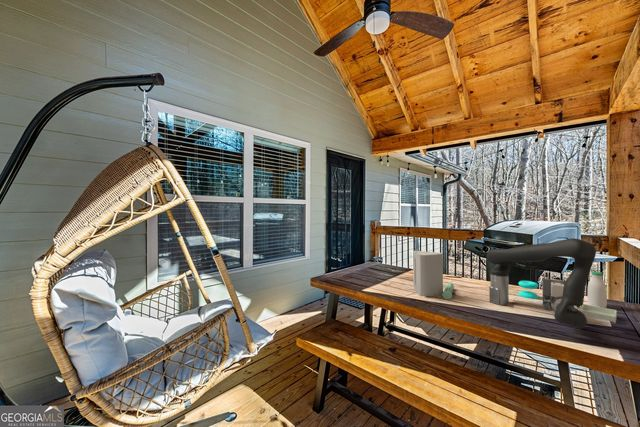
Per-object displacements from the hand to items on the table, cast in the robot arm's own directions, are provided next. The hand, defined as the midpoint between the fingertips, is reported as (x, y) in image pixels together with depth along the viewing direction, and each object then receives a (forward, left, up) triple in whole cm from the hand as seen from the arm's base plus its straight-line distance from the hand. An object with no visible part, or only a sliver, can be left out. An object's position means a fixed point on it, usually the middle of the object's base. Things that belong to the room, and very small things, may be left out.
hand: (558, 297), depth 146 cm
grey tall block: (+4, +3, -8) cm, 9 cm away
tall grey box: (-44, +53, -9) cm, 70 cm away
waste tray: (+14, -10, -9) cm, 19 cm away
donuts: (+11, +23, -9) cm, 27 cm away
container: (-29, +48, -10) cm, 57 cm away
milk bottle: (+32, -1, -9) cm, 33 cm away
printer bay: (+4, +3, -9) cm, 10 cm away
